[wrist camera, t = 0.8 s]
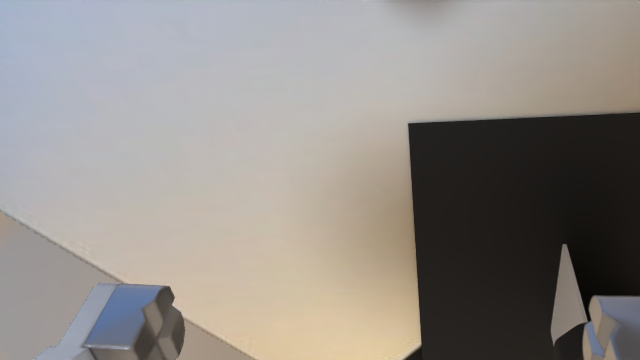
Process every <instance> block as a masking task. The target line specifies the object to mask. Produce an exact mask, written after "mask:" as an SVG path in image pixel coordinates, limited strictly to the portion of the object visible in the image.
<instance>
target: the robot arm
mask: <svg viewBox="0 0 640 360" xmlns="http://www.w3.org/2000/svg"><path fill="white" fill-rule="evenodd" d="M174 298H175V297H174V295H173V293H172V290H171V288H170V287H169V286H160V285H140V284H115V283H99V284H97V285H96V286H94V287H93V288H92V290H91V291H90V293H89V295H88V296H87V298H86V299H85V301H84V303H83V304H82V306H81V308H80V310H79V311H78V313H77V314H76V316H75V318H74V319H73V321H72V323H71V324H70V326H69V328H68V329H67V331H66V333H65V334H64V336H63V338H62V339H61V341H60V343H59V344H58V346H50V347H49V348H47V349H46V350H45V351H43V352H42V353H40V354H39V355H38V356H36V357H35V358H33V359H32V360H176V358H178V357H179V354H180V352H181V349H182V347H183V343H184V335H185V327H184V319H183V317H182V314H181V312H180V311H179V310H177V309H176V308H175V307H173V306H172V303H173V301H174ZM589 313H590V316H591V321H590V322H588V323H587V324H586V325H585V327H584V333H583V358H584V360H640V295H594V296H593V297H592V298H591V301H590V305H589Z"/></svg>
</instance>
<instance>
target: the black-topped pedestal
mask: <svg viewBox="0 0 640 360" xmlns="http://www.w3.org/2000/svg"><path fill="white" fill-rule="evenodd" d="M408 128H409V144H410V160H411V177H412V193H413V210H414V226H415V243H416V259H417V276H418V292H419V309H420V325H421V342H422V358H423V360H584V358H583V333H584V327H585V325H586V324H587V323H588V322H590V321H591V316H590V313H589V305H590V301H591V298H592V297H593V296H594V295H640V113H628V114H607V115H585V116H563V117H541V118H519V119H498V120H476V121H454V122H432V123H410V124H408Z"/></svg>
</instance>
